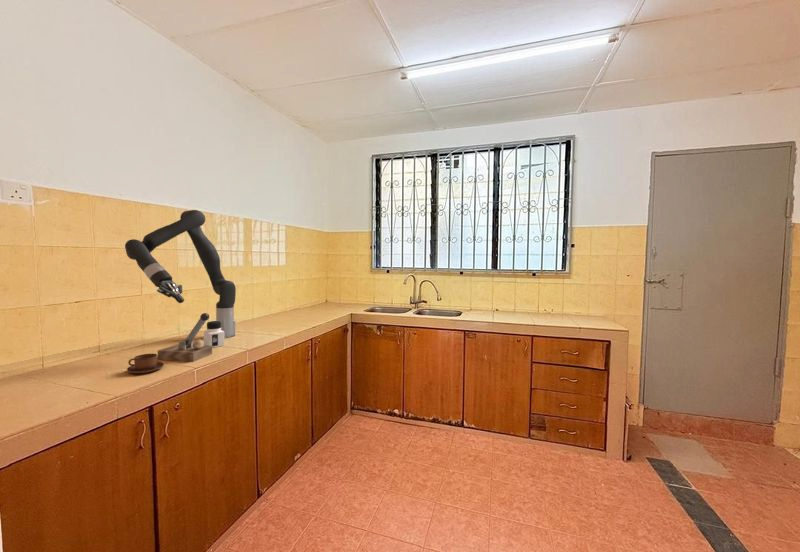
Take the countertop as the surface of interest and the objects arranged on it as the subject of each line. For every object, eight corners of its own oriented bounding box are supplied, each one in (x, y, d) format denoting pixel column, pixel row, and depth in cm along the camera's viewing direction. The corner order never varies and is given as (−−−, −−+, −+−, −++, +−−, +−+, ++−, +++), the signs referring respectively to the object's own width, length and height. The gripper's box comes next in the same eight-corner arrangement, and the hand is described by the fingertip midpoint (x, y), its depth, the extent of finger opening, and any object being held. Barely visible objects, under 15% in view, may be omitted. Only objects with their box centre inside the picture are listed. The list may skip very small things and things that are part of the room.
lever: (178, 345, 152) (201, 312, 150) (184, 343, 156) (206, 310, 153) (184, 350, 152) (207, 317, 150) (189, 348, 156) (212, 315, 153)
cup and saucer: (124, 378, 126) (124, 362, 126) (129, 368, 137) (129, 354, 136) (162, 372, 133) (162, 358, 132) (165, 364, 143) (164, 350, 143)
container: (224, 345, 174) (224, 321, 173) (208, 348, 168) (208, 323, 167) (219, 342, 179) (219, 319, 178) (203, 345, 173) (203, 321, 173)
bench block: (157, 359, 149) (157, 340, 149) (178, 351, 161) (178, 334, 161) (193, 361, 147) (193, 343, 147) (212, 353, 159) (212, 336, 158)
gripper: (150, 269, 147) (176, 298, 146) (174, 269, 160) (197, 294, 159) (140, 281, 147) (165, 309, 147) (164, 279, 161) (187, 305, 160)
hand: (182, 301), depth 153 cm, fingers closed
